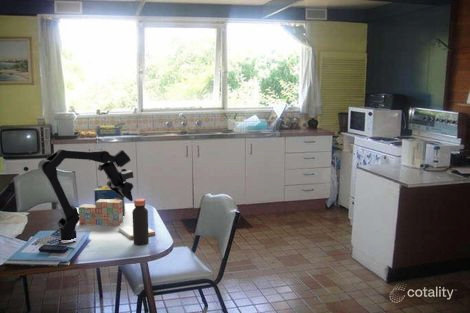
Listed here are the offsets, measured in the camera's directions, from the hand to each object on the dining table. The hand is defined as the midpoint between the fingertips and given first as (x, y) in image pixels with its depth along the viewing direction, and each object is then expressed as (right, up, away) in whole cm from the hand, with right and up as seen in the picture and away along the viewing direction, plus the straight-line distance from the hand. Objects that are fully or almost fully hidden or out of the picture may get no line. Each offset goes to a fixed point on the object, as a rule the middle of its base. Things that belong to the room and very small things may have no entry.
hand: (127, 198), depth 226 cm
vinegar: (+10, -18, -18) cm, 28 cm away
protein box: (-16, -12, +28) cm, 34 cm away
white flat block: (+5, -16, -4) cm, 17 cm away
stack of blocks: (-16, -14, +12) cm, 25 cm away
